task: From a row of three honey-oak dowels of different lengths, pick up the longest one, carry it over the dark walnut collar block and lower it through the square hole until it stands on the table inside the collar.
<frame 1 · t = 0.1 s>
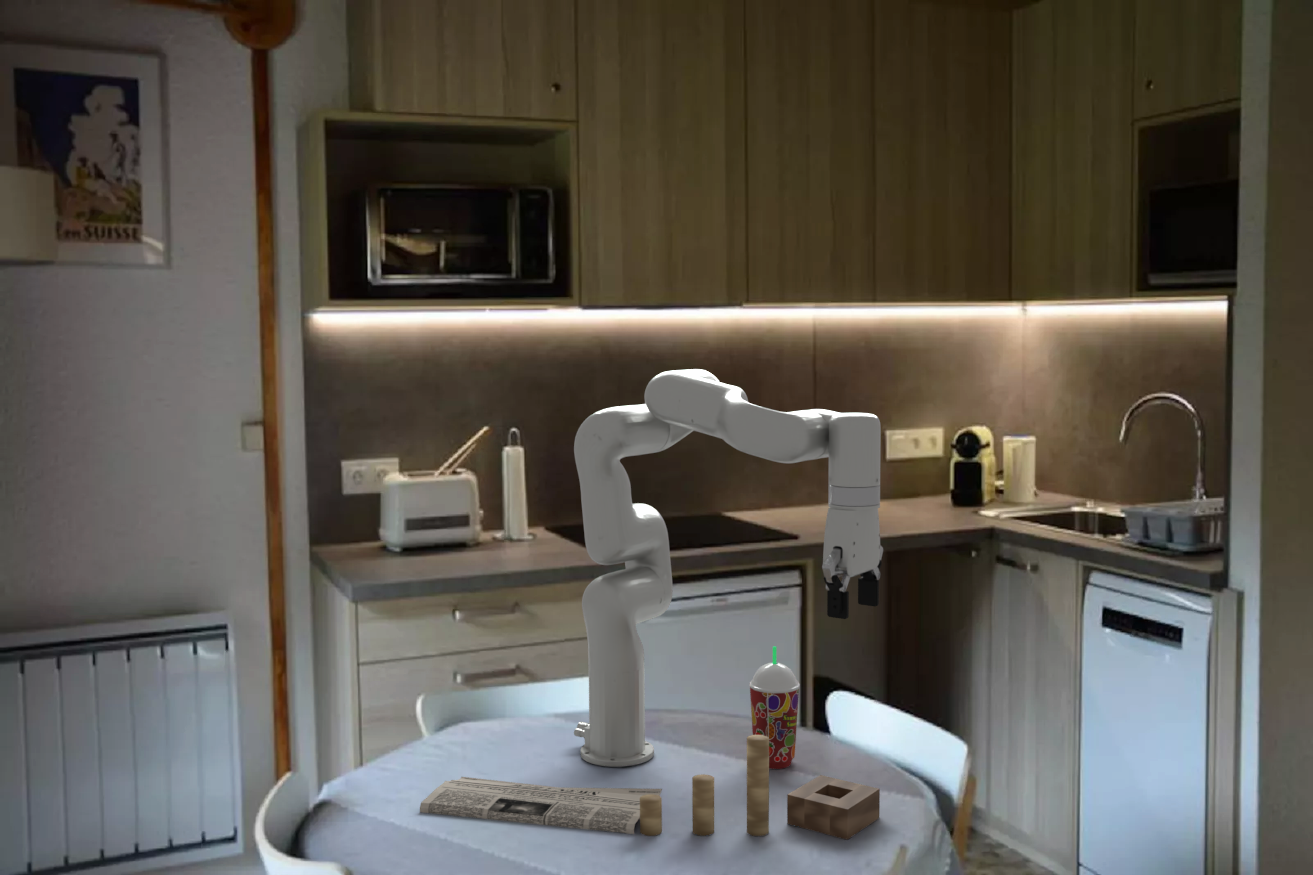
hand: (853, 611, 193), 31 cm above the table, tool pointing down, fingers open, 9 cm apart
long dowel: (757, 831, 189), on the table
smoothie: (774, 765, 218), on the table
medium dowel: (703, 831, 190), on the table
short dowel: (650, 831, 190), on the table
collar: (833, 820, 193), on the table
newspaper: (543, 812, 199), on the table
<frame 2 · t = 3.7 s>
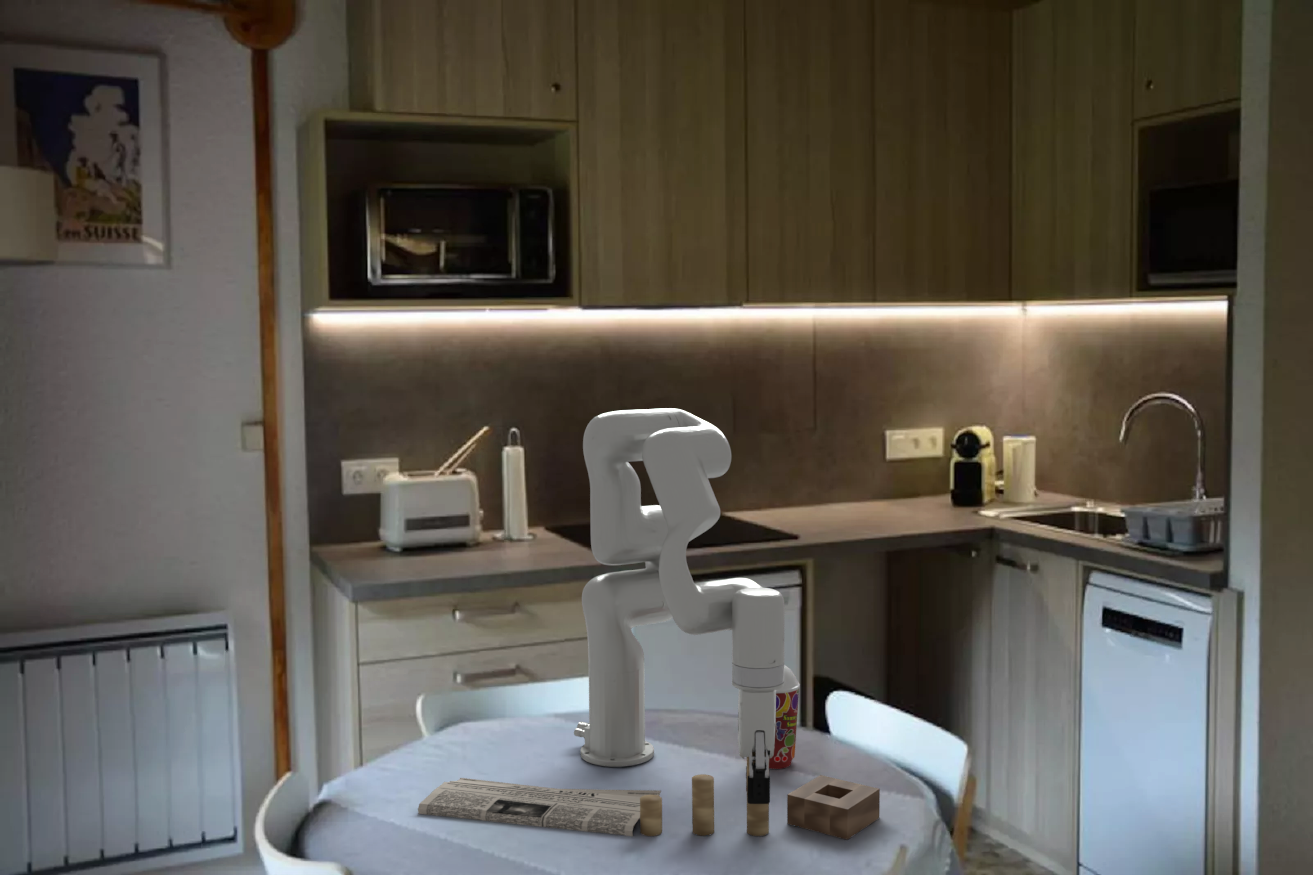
hand: (757, 797, 189), 5 cm above the table, tool pointing down, fingers closed on long dowel, 3 cm apart
long dowel: (757, 831, 189), on the table, touching gripper
short dowel: (651, 831, 190), on the table, touching newspaper
newspaper: (541, 814, 198), on the table, touching short dowel
everything else where it was.
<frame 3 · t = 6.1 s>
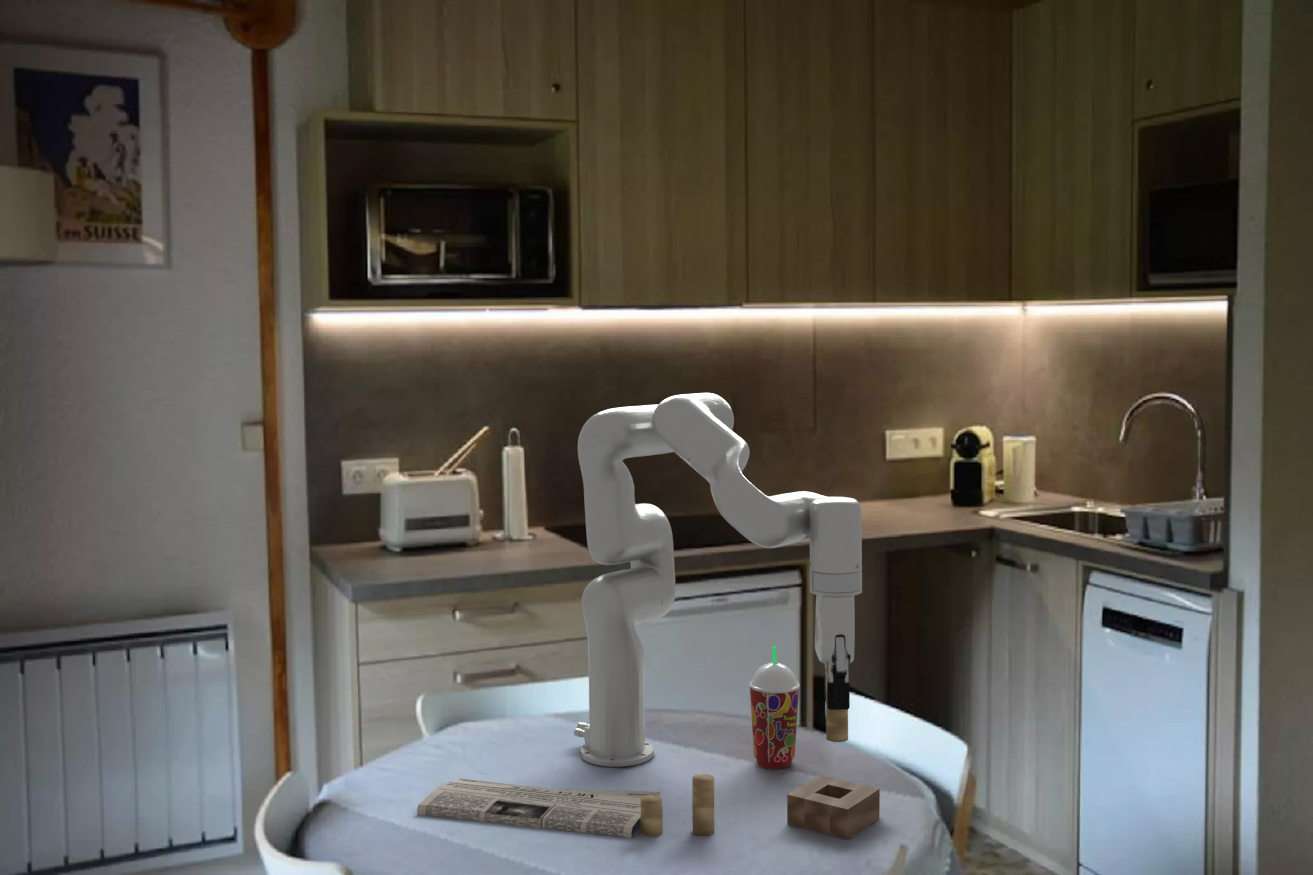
hand: (836, 704, 191), 18 cm above the table, tool pointing down, fingers closed on long dowel, 3 cm apart
long dowel: (837, 738, 192), point 13 cm above the table, touching gripper
short dowel: (651, 832, 190), on the table
newspaper: (541, 815, 198), on the table
everything else where it was.
when the fingers open (6 cm above the table, at t = 8.8 s): long dowel stays where it is, resting in collar.
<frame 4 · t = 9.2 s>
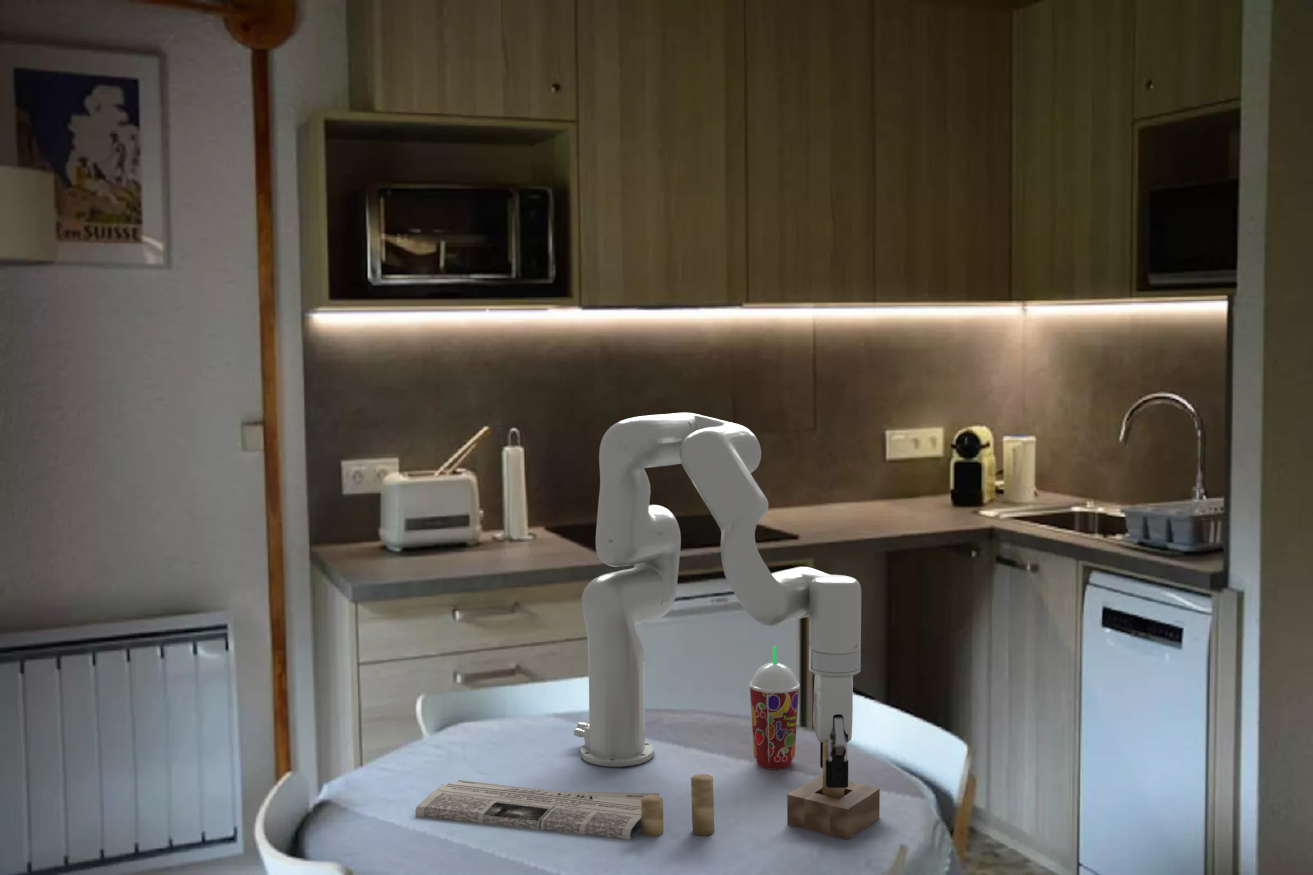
hand: (833, 776, 193), 7 cm above the table, tool pointing down, fingers open, 7 cm apart
long dowel: (833, 821, 193), resting in collar
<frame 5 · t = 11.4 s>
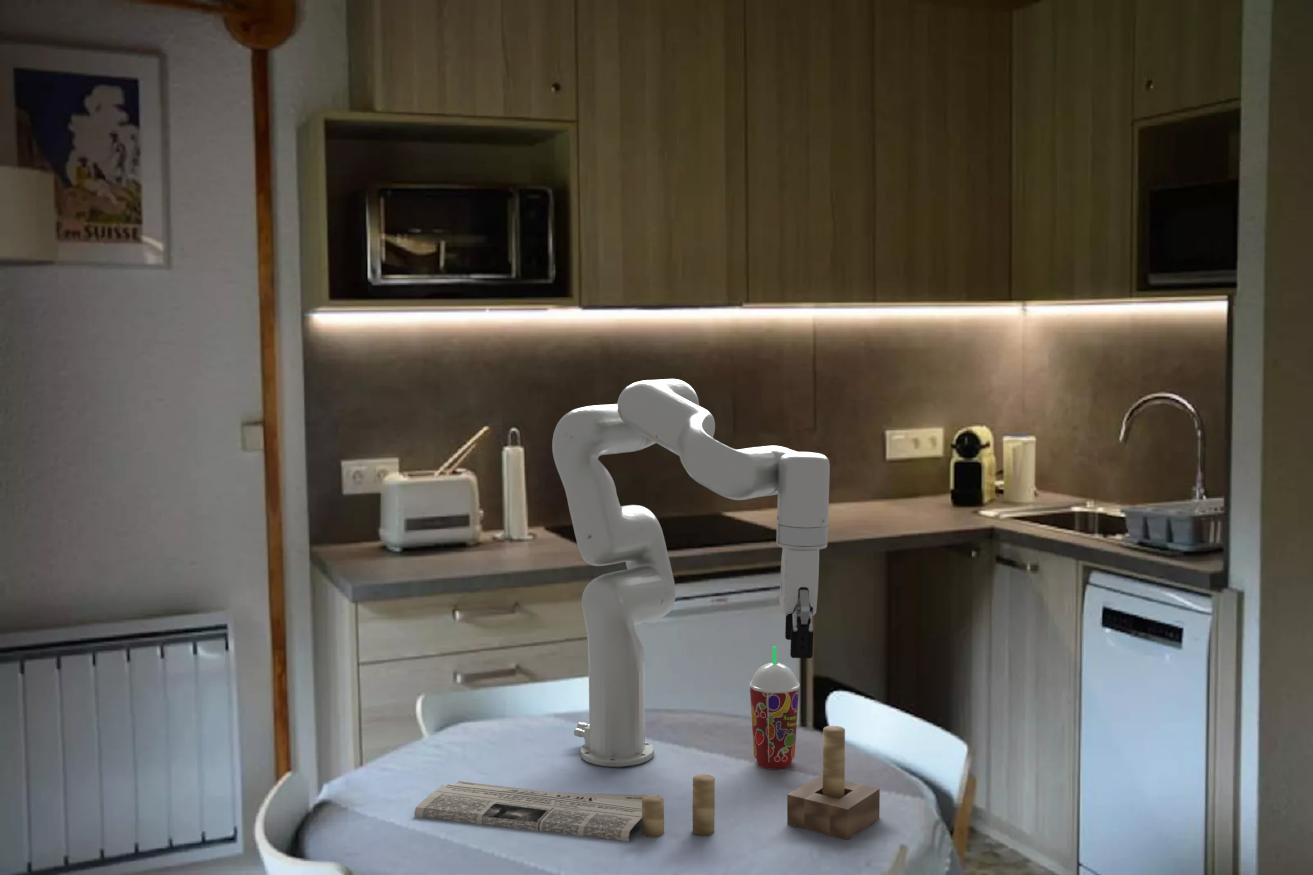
hand: (798, 648, 195), 25 cm above the table, tool pointing down, fingers open, 9 cm apart
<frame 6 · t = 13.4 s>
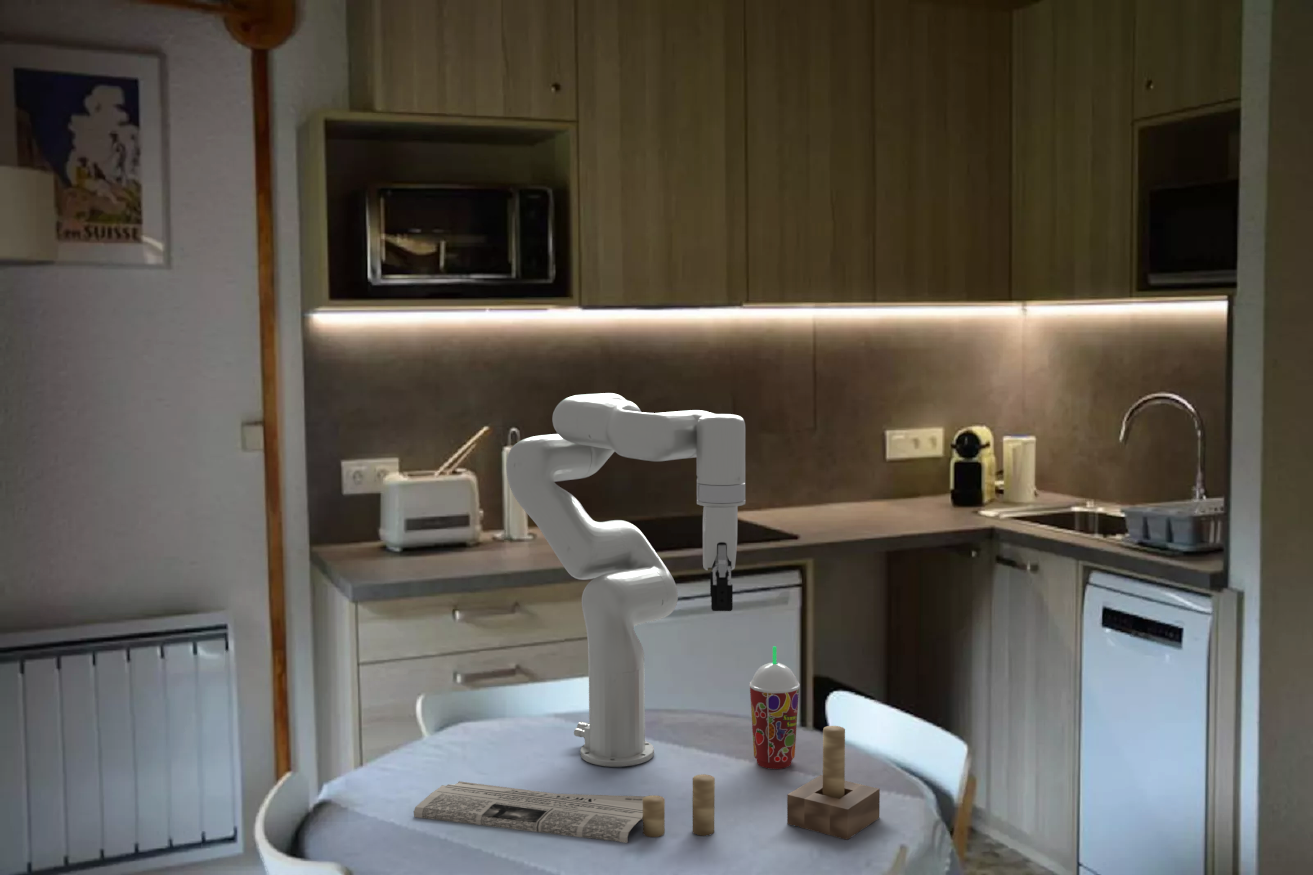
hand: (721, 603, 202), 30 cm above the table, tool pointing down, fingers open, 9 cm apart
at the end: long dowel 0.0 cm off-centre on the collar, point 0.0 cm above the collar's base; long dowel tilted 0°; the gripper is holding nothing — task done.
